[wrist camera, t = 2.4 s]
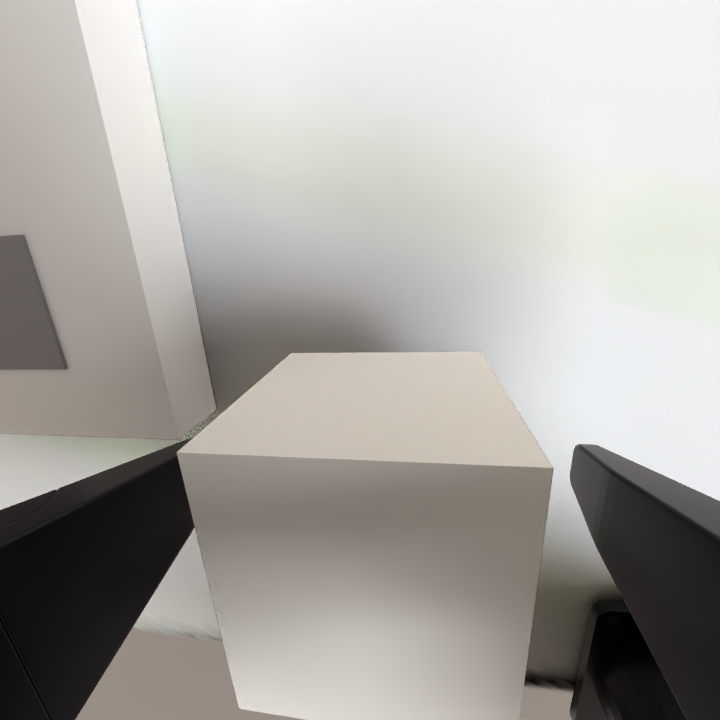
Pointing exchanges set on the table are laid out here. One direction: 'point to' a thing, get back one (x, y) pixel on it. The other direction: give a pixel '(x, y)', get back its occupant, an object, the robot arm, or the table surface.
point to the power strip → (90, 234)
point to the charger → (372, 537)
